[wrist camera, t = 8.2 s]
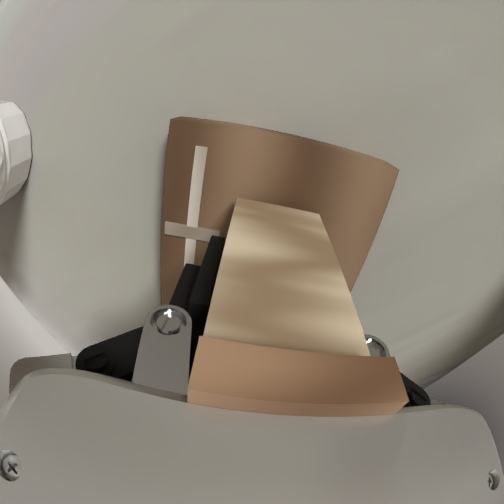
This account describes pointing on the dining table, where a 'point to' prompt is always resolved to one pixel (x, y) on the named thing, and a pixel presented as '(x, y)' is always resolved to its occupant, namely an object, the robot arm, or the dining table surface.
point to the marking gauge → (287, 326)
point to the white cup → (13, 150)
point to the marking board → (265, 190)
